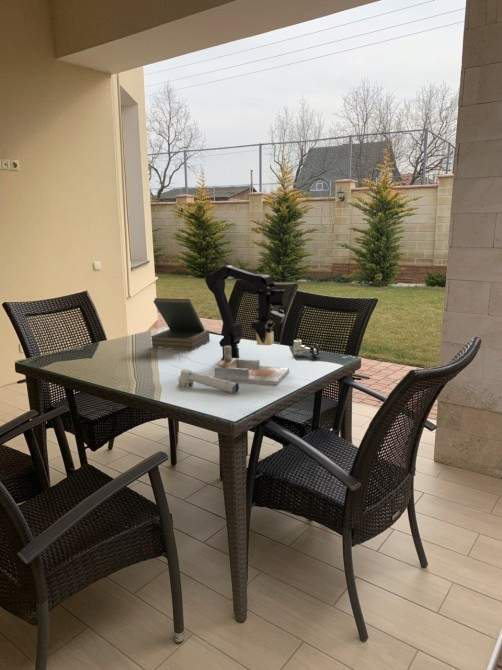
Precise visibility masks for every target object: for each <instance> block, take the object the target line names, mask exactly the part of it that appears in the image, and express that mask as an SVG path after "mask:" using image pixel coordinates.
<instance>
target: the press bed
mask: <svg viewBox="0 0 502 670" xmlns="http://www.w3.org/2000/svg"><path fill="white" fill-rule="evenodd" d="M260 364H261V363H260V360H259V359H249V358H247V359H245V358H237V367H236V368H232V367H219V365H217V366H214V367H213V368H214V369H213V370H214V374H213V375H212V377H214V378H219V379H223V380H230V381H231V382H235V383H247V384H256V385H257V384H258V385H259V384H260V385H270V386H271V385H272V386H277V385H279V383H280V382H281V381H282V380H283V379H284V378H285V377H286V376H287V374H288V373H290V367H282V366H281V367H280V366H270V365H269V366H268V365H267V366H266V365H260Z"/></svg>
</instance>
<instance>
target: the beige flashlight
mask: <svg viewBox="0 0 502 670" xmlns="http://www.w3.org/2000/svg"><path fill="white" fill-rule="evenodd" d="M177 380H178V385H179V386H180V387H182V386H183V387H182V388H184V386H185V387H187V388H189V387H188V386H191V387H193V386H192V385H194V382H195V383H198V384H201V385H204V386H207V387H210V388H214V389H217V390H220V391H223V392H225V393H231V394H233V395H234V394H236V392H237V393H238V392H239V389H240V383H239V382H233V381H230V380H223V379H219V378H214V377H213V376H210V375H205V374H201V373H195V372H192V370H190V369H185V368H184V369H182V370H181V371H180V375H179V376H177Z"/></svg>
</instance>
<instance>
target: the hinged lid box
mask: <svg viewBox="0 0 502 670" xmlns="http://www.w3.org/2000/svg"><path fill="white" fill-rule="evenodd" d="M153 303H154V305H155V307H156V309H157V311H158V312H159V314H160V315H161V317H162V319H163V320H164V322H165V324H166V325H167V327H168V329H166V330H163V331H161V332H158V333H155V334H153V335H151V340H150V341H151V346H152V348H153V347H162V348H161V349H164V348H172V349H171V350H179V349H184V350H183V351H195V349H198V348H199V347H201V346H203V345H205V344H207V343H208V342H209V341H211V339H210V338H211V337H210V330H209V329H208V330H207V329H206V330H205V327H204V325H203V323H202V321H201V319H200V317H199V316H198V313H197V312H196V309H195V307H194V305H193V303H192V302H191V299H189V298H161V297H160V298H156V297H155V298H154V300H153Z"/></svg>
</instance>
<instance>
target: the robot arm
mask: <svg viewBox="0 0 502 670" xmlns="http://www.w3.org/2000/svg"><path fill="white" fill-rule="evenodd" d="M230 277H232V278H234V279H236V280H237V279H238V280H240V281H243V282H246V283H248V284H250V285H251V286H252V287H253V288H255V290H254V291H253V292H252V295H256V296H257V298H256V299H257V307H256V308H255V310H256V312H257V317H256V320H254V321H252V322H251V323H250V329H252V330H255V332H256V335H257V334H258V336H259V338H260V340H261V342H262V343H264V342H265V336H266V331H272V327H273V326H274V325H275V324H276V323H277V324H282V323H283V322H284V320H285V318H286V314H285V311H284V310H282V309H279V310H278V311H277V310H276V311H275V310H274V307H287V306H288V304H289V303H290V302H289V300H290V299H289V298H290V297H289V295H288V293H287V290H286V289H279V288H278V287H277V285H276V284H275V282H274V281H273V278H272V275H270V274H264V273H253V272H250V271H247V270H245V269H241V268H238V267H235V266H233V265H230V264H229V265H224V266H222V267H221V268H220V269H218V270H216V271H214V272H213V273H208V274H207V275H206V276H205V280H204V281H205V284H206V286H207V288H208V290H209V292H210V291H211V293H212V294H213V296H214V299H215V302H216V304H217V308H218V311H219V314H220V318H221V321H222V323H223V329H222V335H223V337H222V338H221V339H220V341H219V342H218V343H219V346H220V347H221V348H222V357H221V360H222V361H224V346H231V355H232V358H237V359H239V358H240V348H239V347H238V345H239V344H240V343H241V340H242V339H243V337H244V336H243V332H244V331H243V329H242V325H241V324H240V323H238V324H237V322H236V321H235V320H234V317H233V313H232V310H231V307H230V304H229V300H228V299H227V295H226V292H225V288H226V281H225V280H228V279H229V278H230Z"/></svg>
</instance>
